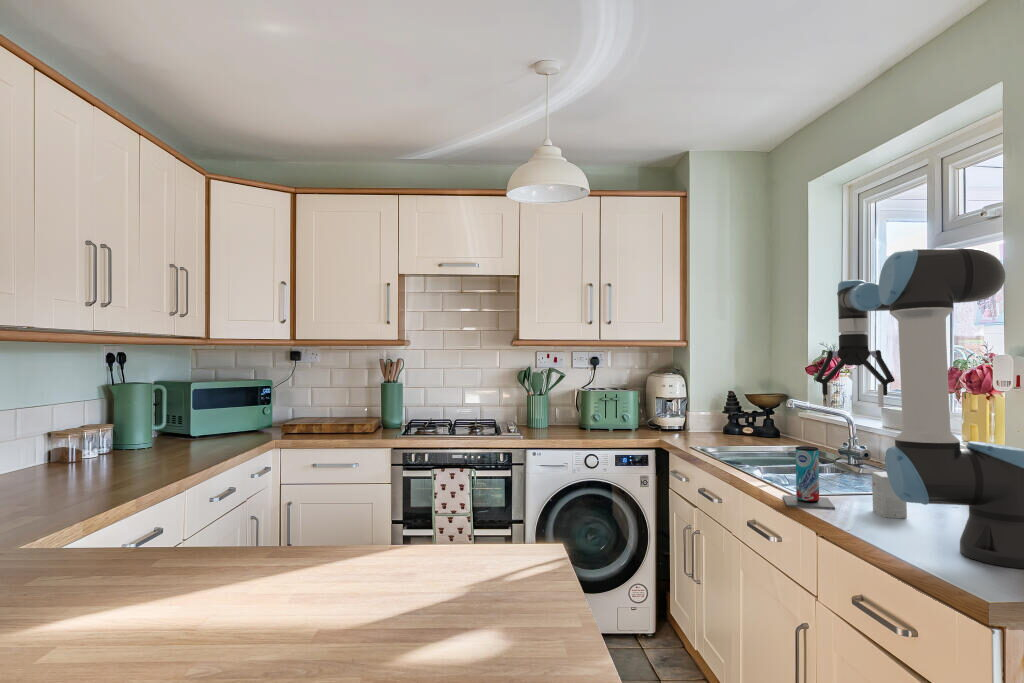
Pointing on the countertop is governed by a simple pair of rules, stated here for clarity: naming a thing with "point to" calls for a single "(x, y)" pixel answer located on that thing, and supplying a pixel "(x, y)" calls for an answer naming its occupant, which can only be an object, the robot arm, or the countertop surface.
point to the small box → (886, 498)
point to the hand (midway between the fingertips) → (854, 406)
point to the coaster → (821, 504)
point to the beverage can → (807, 474)
